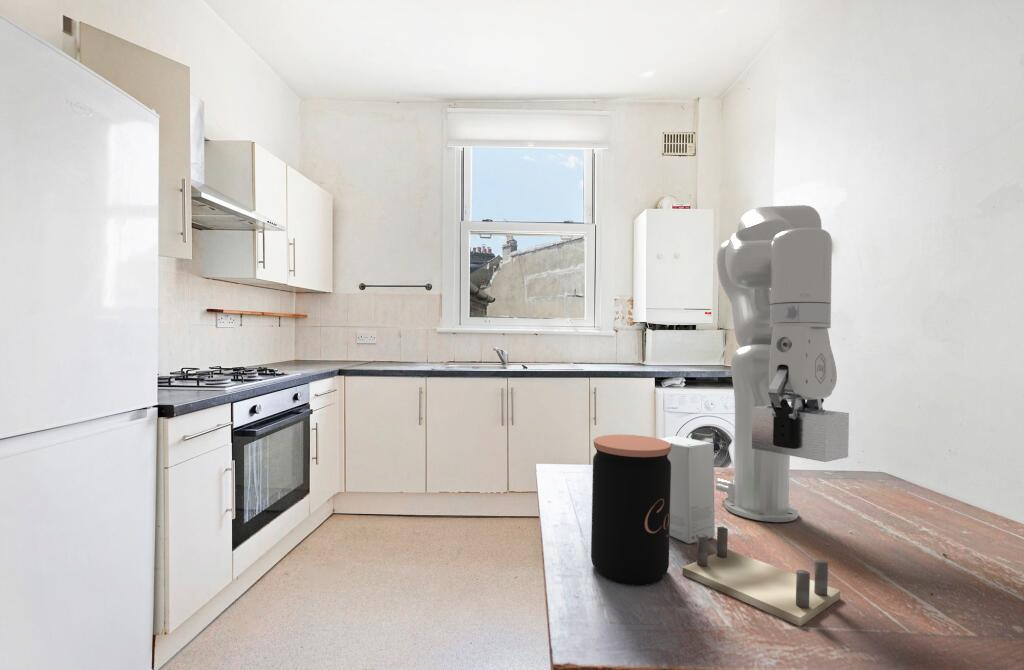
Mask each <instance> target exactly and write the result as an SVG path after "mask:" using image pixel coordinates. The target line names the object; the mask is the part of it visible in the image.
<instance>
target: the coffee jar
mask: <svg viewBox="0 0 1024 670" xmlns="http://www.w3.org/2000/svg"><path fill="white" fill-rule="evenodd" d="M593 448H594V449H595V451H596V453H595V454H594V455H593V458H592V485H591V486H592V490H591V491H592V493H591V499H592V500H591V532H590V533H591V538H590V558H591V562H592V565H593V566H594V567H595V571H597V572H598V574H599V575H600V576H601V577H603V578H604V579H606V580H608V581H611V582H613V583H617V584H621V585H626V586H637V587H638V586H639V587H642V586H651V585H653V584H654V585H655V584H657V583H659V582H660V581H662V580H663V578H664V576H665V575H667V573H668V570H669V567H670V538H671V536H670V492H671V462H670V461H669V459H668V458H667V456H668V454H669V453H670V451H671V444H670V443H669V442H666V441H664V440H661V439H659V438H657V437H652V436H646V435H645V436H644V435H636V434H608V435H602V436H601V435H600V436H597V437H595V438H594V439H593Z"/></svg>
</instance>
